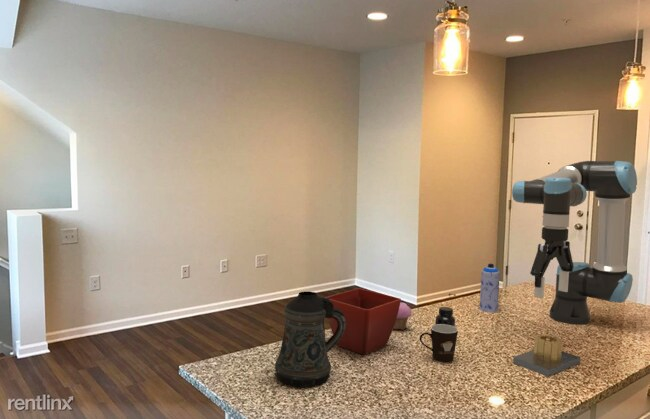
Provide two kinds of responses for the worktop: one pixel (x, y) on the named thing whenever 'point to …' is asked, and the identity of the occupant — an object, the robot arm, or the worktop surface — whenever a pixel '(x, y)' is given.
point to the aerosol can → (489, 289)
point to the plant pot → (365, 319)
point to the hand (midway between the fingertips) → (551, 294)
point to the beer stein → (307, 341)
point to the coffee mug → (442, 342)
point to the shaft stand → (546, 363)
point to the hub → (547, 348)
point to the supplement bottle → (445, 316)
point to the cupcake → (402, 316)
